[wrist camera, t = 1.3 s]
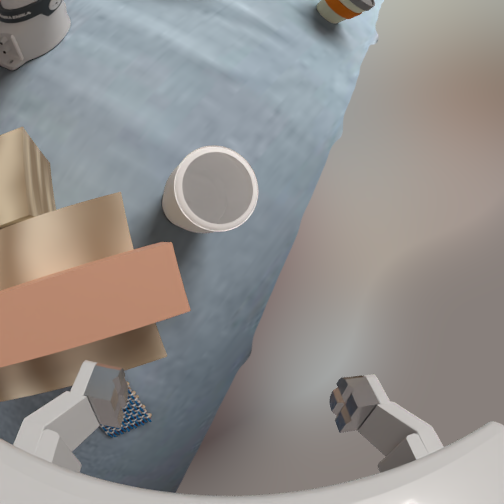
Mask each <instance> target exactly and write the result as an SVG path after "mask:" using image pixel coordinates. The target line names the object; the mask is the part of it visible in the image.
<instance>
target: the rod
mask: <svg viewBox="0 0 504 504" xmlns="http://www.w3.org/2000/svg"><path fill="white" fill-rule="evenodd" d="M189 311H191V310H190V307H189V304H188V300H187V297H186V293H185V290H184V286H183V282H182V279H181V275H180V271H179V268H178V264H177V260H176V256H175V252H174V248H173V244H172V242H159V243H156V244H152V245H148V246H145V247H141V248H137V249H134V250H130V251H127V252H123V253H120V254H116V255H113V256H109V257H106V258H103V259H99V260H96V261H92V262H89V263H86V264H82V265H79V266H76V267H73V268H69V269H66V270H63V271H60V272H56V273H53V274H50V275H47V276H44V277H41V278H38V279H34V280H31V281H28V282H25V283H22V284H19V285H16V286H13V287H10V288H7V289H4V290H1V291H0V367H4V366H8V365H12V364H16V363H20V362H24V361H28V360H31V359H35V358H39V357H43V356H46V355H50V354H53V353H57V352H61V351H64V350H68V349H71V348H75V347H78V346H81V345H85V344H88V343H92V342H95V341H98V340H102V339H105V338H108V337H111V336H115V335H118V334H121V333H124V332H128V331H131V330H134V329H137V328H140V327H143V326H146V325H149V324H153V323H156V322H159V321H162V320H165V319H168V318H171V317H174V316H177V315H180V314H183V313H186V312H189Z"/></svg>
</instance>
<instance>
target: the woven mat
mask: <svg viewBox="0 0 504 504" xmlns="http://www.w3.org/2000/svg"><path fill="white" fill-rule="evenodd" d="M129 384H130V383H129V382H127V385H128V399H127V403H126V406H124V407H123V408H122V410H123V413H124V416H123V421H122V425H121V428H116V427H111V426H106V425H101V424H99V425H100V427H102V428H103V430H105V431H106V432H105V433H106V434H107V435H109V436H110V437H111V438H112V437H113V436H114V437H117V436H116V435H115V434H116V433H117V434H118V435H119V432H120V433H121V434H123V433H122V432H123V431H124V432H126V429H127V430H128V432H129V431H130V430H129V427H130V428H131V429H133V426H134V427H135V428H137V427H136V426H137V425H138V426H140V423H141V424H142V425H144V422H143V421H142V420H144V421H145V422H147V420H146V418H147V419H148V420H149V422H151V420H150V419H151V418H150V417H151V416H152V415H151V414H150V413H146V412H147V411H146V409H144V408H145V405H142V404H139V403H140V401H139V400H137V399H138V398H139V397H138V395H136V396H134V395H135V394H136V392H135V391H132V390H131V388H130V387H129ZM137 405H138V406H137ZM132 407H133V408H132ZM128 408H130V409H128ZM125 410H126V411H125ZM132 413H133V414H132ZM143 414H144V415H143ZM129 415H130V416H129ZM140 416H141V417H140ZM135 417H137V418H135ZM131 418H132V419H133V420H132V419H131ZM128 419H129V421H128ZM124 421H125V422H124ZM139 422H140V423H139ZM135 423H136V424H137V425H136V424H135ZM132 425H133V426H132ZM125 428H126V429H125ZM121 429H122V430H123V431H122V430H121ZM112 434H113V435H112Z"/></svg>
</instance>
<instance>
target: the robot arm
mask: <svg viewBox="0 0 504 504" xmlns="http://www.w3.org/2000/svg"><path fill="white" fill-rule="evenodd" d="M70 24H71V21H70V18H69V16H68V14H67V11H66V4H65V3H64V0H0V65H1V66H3V67H5V68H7V69H10V70H15V69H17V68H18V67H20V66H21V65H23V64H24V63H25V62H27V61H29V60H31V59H34V58H36V57H39V56H41V55H43V54H44V53H46V52H48V51H49V50H51V49H52V48H54V47H55V46H56V45H57V44H58V43H59V42H60V41H61V40H62V39H63V38H64V37H65V36H66V34H67V32H68V31H69V28H70ZM11 62H12V63H11ZM124 377H125V372H124V369H123V368H119V367H114V366H110V365H105V364H101V363H96V362H92V361H88V360H85V361H84V362H83V363H82V365H81V368H80V370H79V372H78V374H77V377H76V379H75V381H74V384H73V386H72V388H71V391H70V392H69V391H66V392H64V393H63V394H61V395H60V396H58V397H57V398H55V399H53V400H52V401H50V402H49V403H47V404H46V405H44V406H43V407H41V408H40V409H38V410H36V411H35V412H33V413H32V414H30V415H29V416H27V417H26V418H24V420H23V422H22V425H21V427H20V429H19V432H18V434H17V437H16V439H15V442H14V445H12V444H10V443H8V442H6V441H4V440H2V439H1V438H0V504H504V426H503V425H502V424H500V423H497V422H495V421H493V422H489V423H487V424H486V425H484V426H482V427H481V428H479V429H477V430H476V431H474V432H472V433H470V434H469V435H467V436H465V437H463V438H461V439H459V440H458V441H456V442H454V443H452V444H450V445H448V446H446V447H443V445H442V443H441V441H440V440H439V438H438V436H437V434H436V432H435V431H434V429H433V427H432V426H431V425H429V424H427V423H426V422H424V421H423V420H421V419H420V418H418V417H416V416H415V415H413V414H412V413H410V412H408V411H407V410H405V409H404V408H402V407H401V406H399V405H398V404H396V403H395V402H390V400H389V399H388V397H387V395H386V393H385V391H384V390H383V388H382V386H381V384H380V382H379V381H378V379H377V377H376V376H375V375H374V374H372V375H363V376H353V377H344V378H341V379H339V381H338V382H337V386H338V388H336V389H335V390H333V392H332V394H331V396H330V407H331V410H332V412H333V413H334V414H335V415H337V417H336V419H335V421H336V424H337V427H338V430H339V432H340V433H341V432H348V431H355V430H358V432H359V433H360V434H361V435H362V436H364V437H365V438H366V439H367V440H368V441H369V442H370V443H371V444H372V445H374V446H375V447H376V448H377V449H378V450H379V451H380V452H381V453H382V454H384V455H385V456H386V457H385V458H384V459H383V460H382V461H381V462H379V464H378V468H379V471H380V473H378V474H374V475H371V476H367V477H364V478H360V479H356V480H352V481H348V482H344V483H340V484H335V485H331V486H326V487H321V488H315V489H309V490H303V491H296V492H288V493H278V494H267V495H249V496H208V495H191V494H180V493H171V492H163V491H156V490H149V489H143V488H138V487H133V486H128V485H123V484H119V483H114V482H110V481H106V480H102V479H99V478H95V477H92V476H88V475H85V474H82V473H80V469H81V463H80V461H79V460H78V459H77V458H76V457H75V455H74V454H73V453H72V451H73V450H74V449H75V448H76V447H77V446H79V445H80V444H81V443H82V442H83V441H84V440H85V439H86V438H87V437H88V436H89V435H90V434H91V433H92V432H93V431H94V430H95V429H96V428H98V427H99V426H100V425H99V424H101V425H106V426H111V427H116V428H121V425H122V421H123V416H124V413H123V410H122V408H123V407H124V406H126V403H127V399H128V385H127V382H126V381H125V380H124Z"/></svg>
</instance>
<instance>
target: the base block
mask: <svg viewBox="0 0 504 504" xmlns="http://www.w3.org/2000/svg"><path fill="white" fill-rule="evenodd" d="M54 210H56V207H55V201H54V194H53V187H52V179H51V170H50V163H49V161H48V160H47V159H46V158H45V156H44V155H43V154H42V152H41V151H40V150H39V148H38V147H37V146H36V144H35V143H34V142H33V140H32V139H31V138H30V136H29V135H28V134H27V132H26V131H25V129H24V128H23V127H21V128H18V129H15V130H13V131H10V132H7V133H5V134H2V135H0V229H3V228H5V227H8V226H11V225H13V224H16V223H19V222H22V221H24V220H27V219H30V218H33V217H36V216H39V215H42V214H45V213H48V212H51V211H54Z"/></svg>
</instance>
